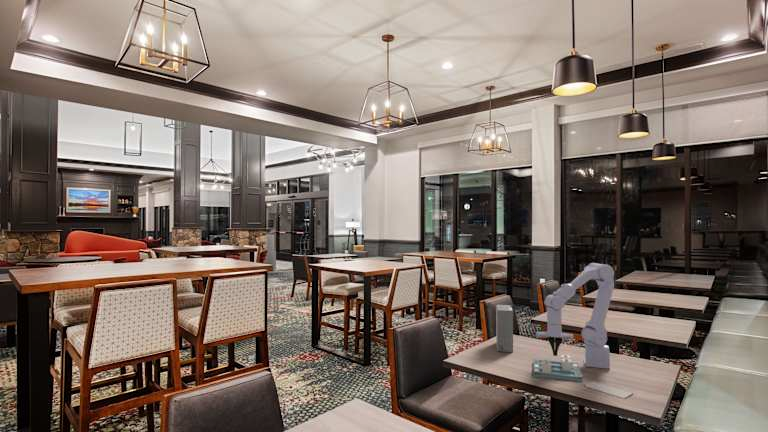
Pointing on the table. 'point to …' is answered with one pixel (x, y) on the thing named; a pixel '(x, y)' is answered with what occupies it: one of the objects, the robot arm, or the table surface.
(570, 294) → the robot arm
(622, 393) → the smartphone
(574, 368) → the switch board
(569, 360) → the tab
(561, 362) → the tab
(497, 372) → the table surface
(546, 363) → the tab
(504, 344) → the hard drive box
